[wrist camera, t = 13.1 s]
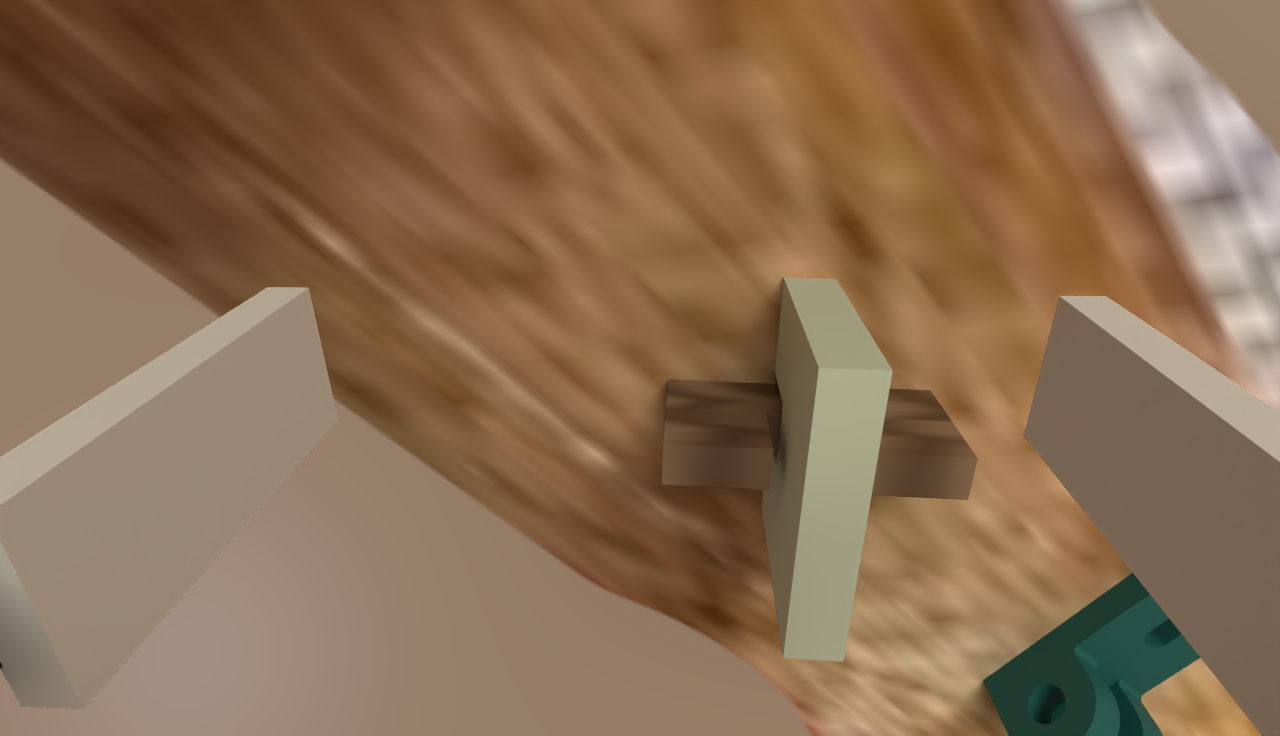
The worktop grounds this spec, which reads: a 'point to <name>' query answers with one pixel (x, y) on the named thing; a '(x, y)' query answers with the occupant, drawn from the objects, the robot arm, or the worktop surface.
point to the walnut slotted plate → (750, 428)
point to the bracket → (1093, 670)
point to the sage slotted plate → (822, 464)
